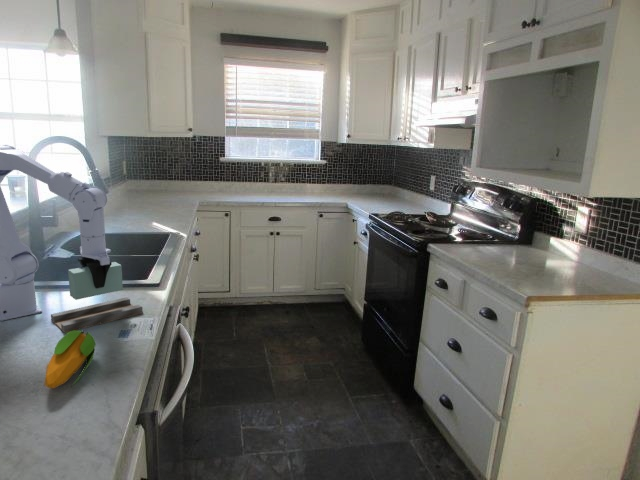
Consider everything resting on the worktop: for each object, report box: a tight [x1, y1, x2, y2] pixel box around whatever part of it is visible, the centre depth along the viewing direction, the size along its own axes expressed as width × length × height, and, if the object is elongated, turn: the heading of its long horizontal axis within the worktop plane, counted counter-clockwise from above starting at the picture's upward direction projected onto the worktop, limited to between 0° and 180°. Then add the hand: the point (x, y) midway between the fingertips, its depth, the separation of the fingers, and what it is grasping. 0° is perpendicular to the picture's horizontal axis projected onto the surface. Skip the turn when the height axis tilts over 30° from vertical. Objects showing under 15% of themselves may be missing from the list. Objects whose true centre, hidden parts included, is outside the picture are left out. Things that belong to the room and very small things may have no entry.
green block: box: [67, 261, 124, 301], centre depth 122 cm, size 12×4×7 cm, turn 136°
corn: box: [44, 330, 97, 389], centre depth 95 cm, size 7×8×20 cm
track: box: [50, 297, 144, 334], centre depth 124 cm, size 20×10×2 cm, turn 136°
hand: (96, 285), depth 123 cm, fingers closed on green block, 4 cm apart
